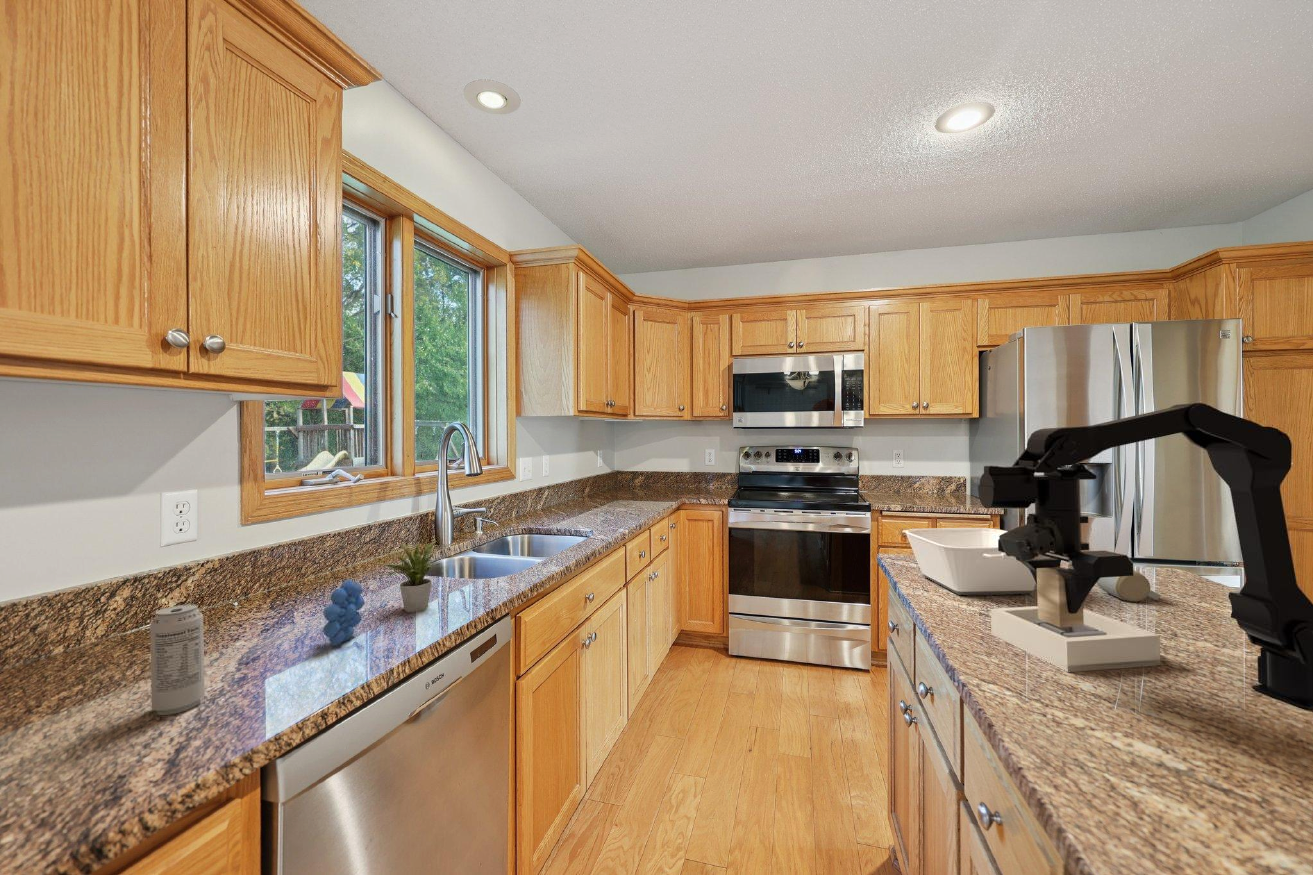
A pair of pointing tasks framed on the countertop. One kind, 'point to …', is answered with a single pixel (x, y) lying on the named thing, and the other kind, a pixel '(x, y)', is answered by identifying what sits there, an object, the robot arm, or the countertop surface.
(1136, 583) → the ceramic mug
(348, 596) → the grapes
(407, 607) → the house plant
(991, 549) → the tub
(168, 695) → the energy drink can
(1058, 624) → the wooden block
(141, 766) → the countertop surface
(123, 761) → the countertop surface
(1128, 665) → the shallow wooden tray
